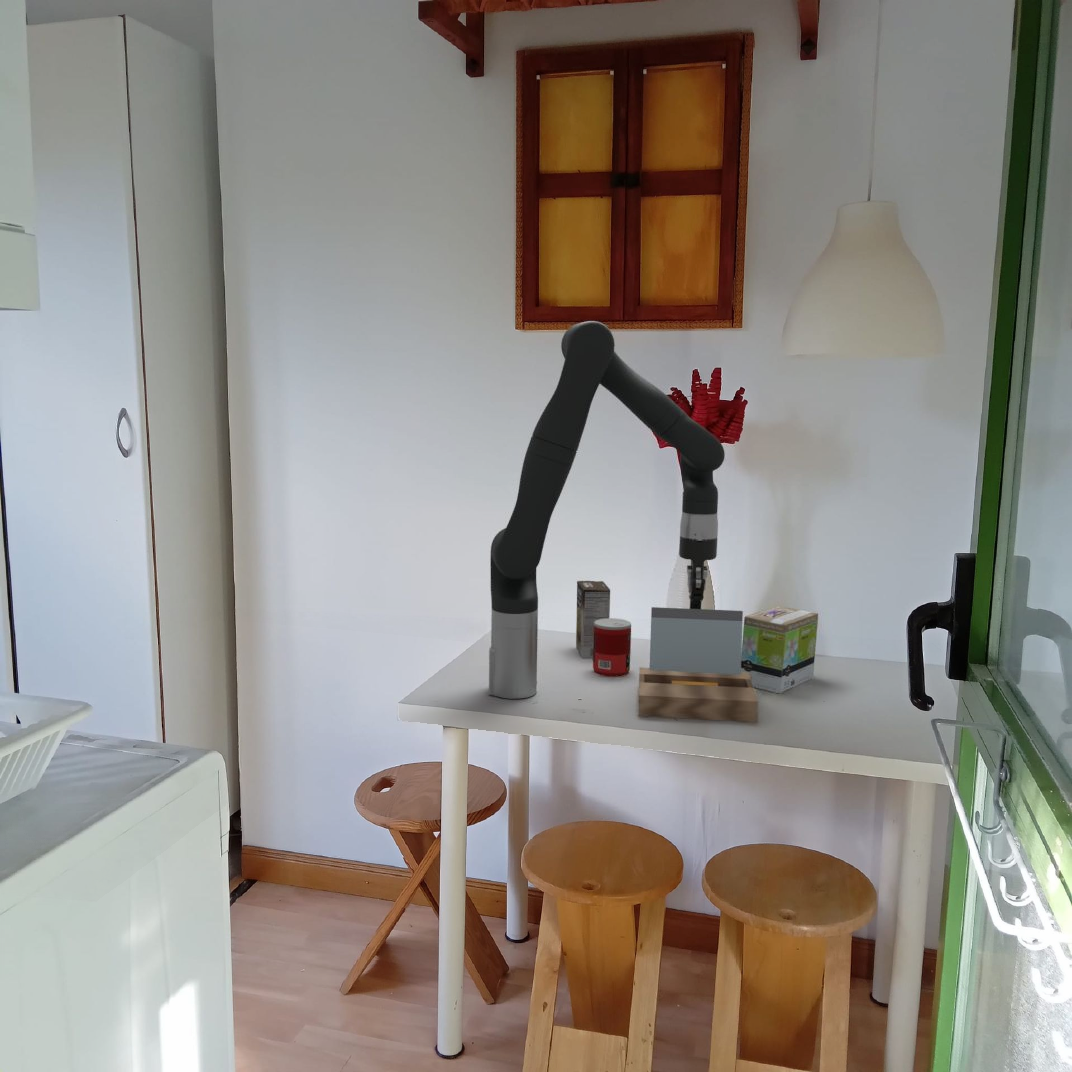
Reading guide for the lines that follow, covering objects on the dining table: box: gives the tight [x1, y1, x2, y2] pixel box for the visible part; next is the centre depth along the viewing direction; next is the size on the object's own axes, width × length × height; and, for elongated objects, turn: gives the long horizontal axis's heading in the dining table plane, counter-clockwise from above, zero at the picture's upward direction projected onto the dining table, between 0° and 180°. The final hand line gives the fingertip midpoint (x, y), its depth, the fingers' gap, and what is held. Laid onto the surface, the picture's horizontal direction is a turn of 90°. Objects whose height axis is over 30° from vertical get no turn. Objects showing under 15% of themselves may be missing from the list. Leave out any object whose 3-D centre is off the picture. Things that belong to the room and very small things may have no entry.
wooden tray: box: [637, 667, 759, 723], centre depth 191 cm, size 22×18×4 cm
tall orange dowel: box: [672, 681, 718, 686], centre depth 194 cm, size 9×3×3 cm, turn 83°
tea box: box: [741, 605, 819, 694], centre depth 205 cm, size 15×10×15 cm
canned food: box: [592, 617, 632, 678], centre depth 210 cm, size 8×8×11 cm
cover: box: [649, 606, 744, 675], centre depth 195 cm, size 18×13×1 cm
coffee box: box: [575, 580, 611, 659], centre depth 224 cm, size 9×6×16 cm
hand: (694, 618), depth 199 cm, fingers closed
